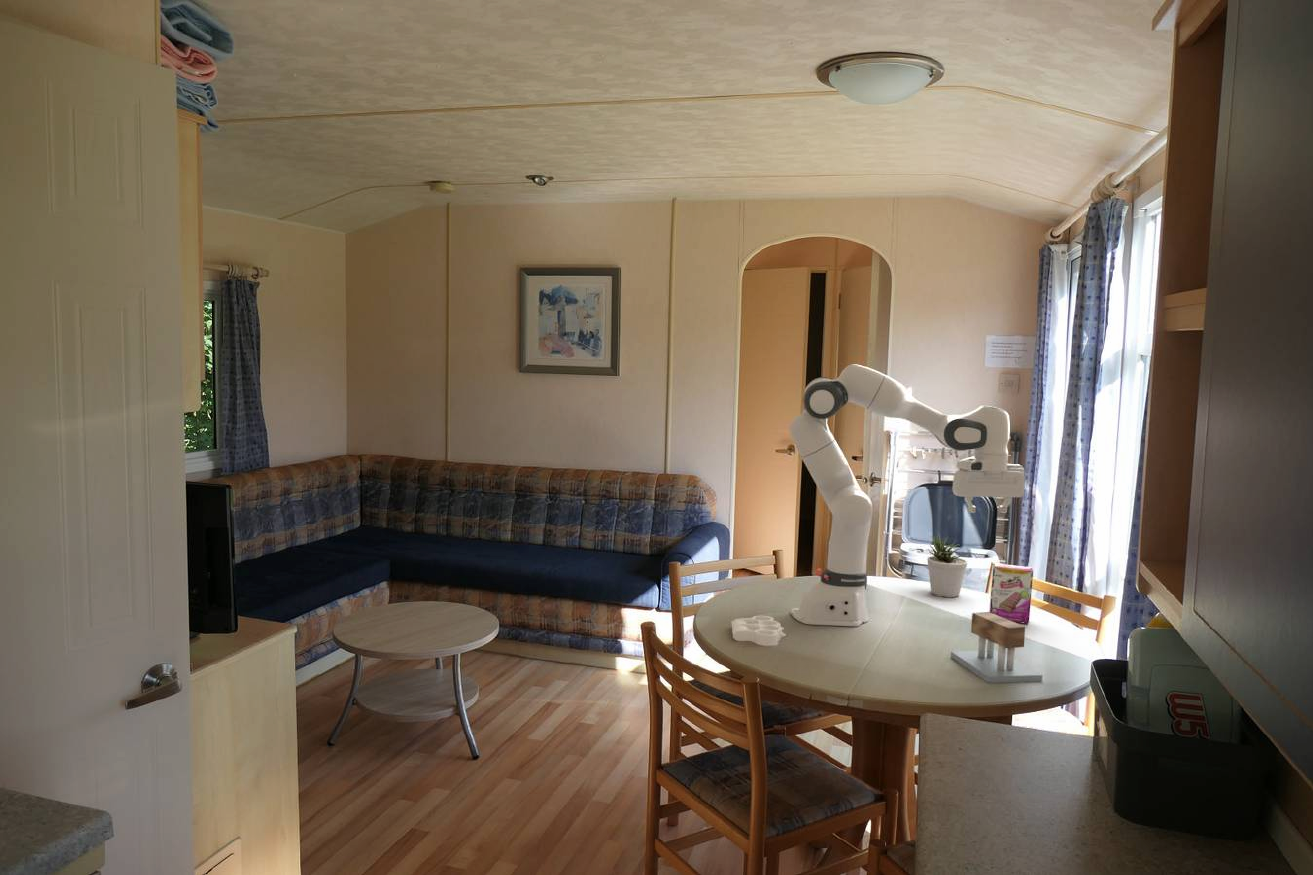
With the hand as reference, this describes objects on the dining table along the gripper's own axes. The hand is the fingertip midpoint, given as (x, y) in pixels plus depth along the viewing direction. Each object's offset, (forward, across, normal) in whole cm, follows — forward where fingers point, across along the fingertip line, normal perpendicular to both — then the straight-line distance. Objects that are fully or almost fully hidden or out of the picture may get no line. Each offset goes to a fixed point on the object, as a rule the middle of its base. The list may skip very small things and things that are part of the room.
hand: (987, 512), depth 245 cm
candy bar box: (+34, -15, -10) cm, 39 cm away
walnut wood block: (+27, +12, +30) cm, 42 cm away
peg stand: (+34, +12, +30) cm, 47 cm away
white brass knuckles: (+35, +65, +1) cm, 74 cm away
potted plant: (+34, -10, -40) cm, 54 cm away
